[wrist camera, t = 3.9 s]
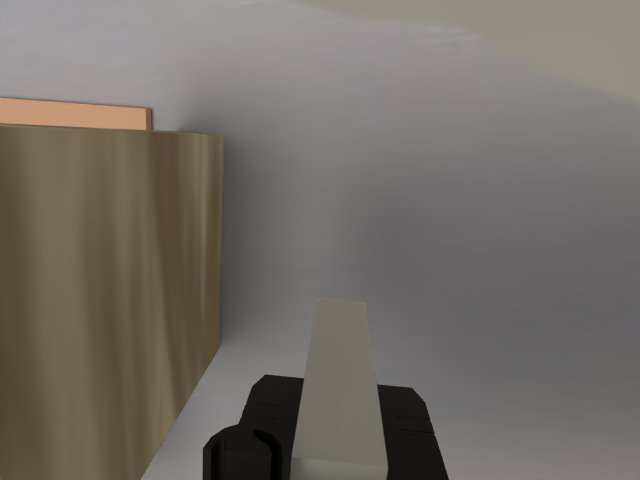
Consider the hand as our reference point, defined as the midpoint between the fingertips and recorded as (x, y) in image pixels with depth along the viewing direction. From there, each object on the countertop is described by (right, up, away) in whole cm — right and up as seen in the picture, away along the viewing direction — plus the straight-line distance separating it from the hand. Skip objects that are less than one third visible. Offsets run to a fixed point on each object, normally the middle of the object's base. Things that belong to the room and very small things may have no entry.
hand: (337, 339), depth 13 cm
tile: (-7, +3, +10) cm, 12 cm away
